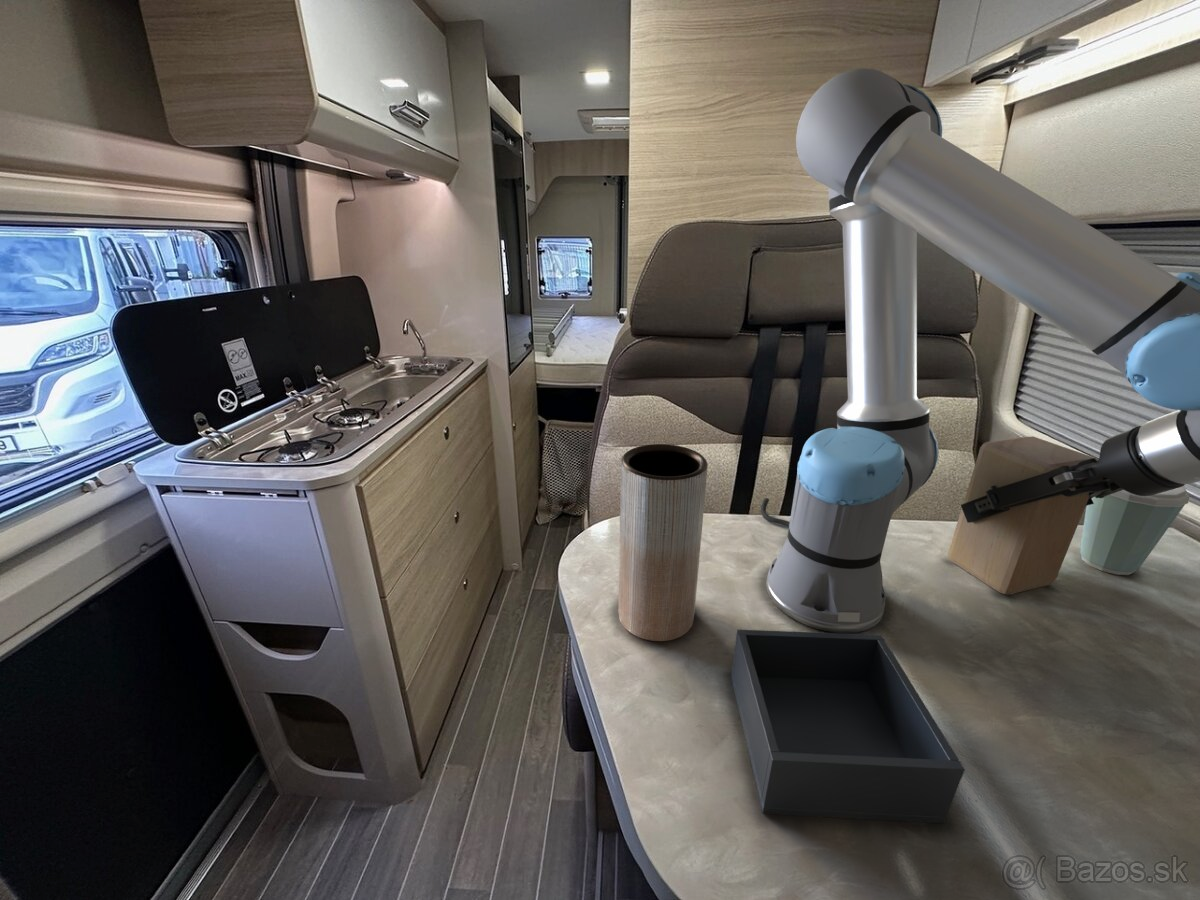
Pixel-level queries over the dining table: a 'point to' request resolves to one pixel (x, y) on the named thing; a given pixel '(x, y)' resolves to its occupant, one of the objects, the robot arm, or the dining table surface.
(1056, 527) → the wooden block
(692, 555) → the planter
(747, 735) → the tote
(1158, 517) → the disposable coffee cup
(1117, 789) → the dining table surface
